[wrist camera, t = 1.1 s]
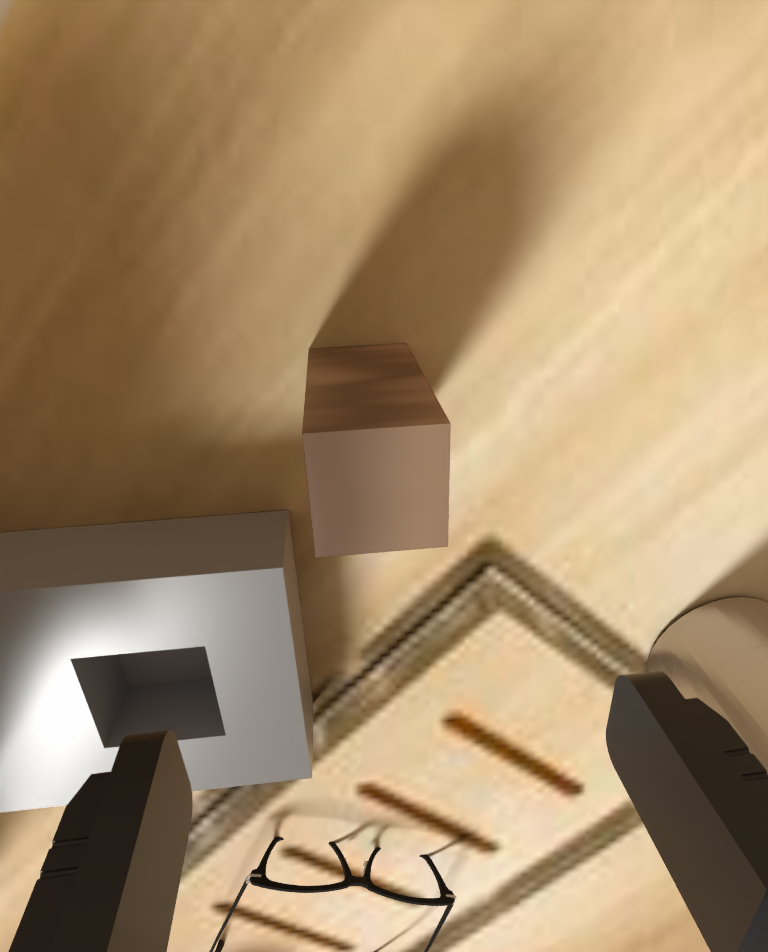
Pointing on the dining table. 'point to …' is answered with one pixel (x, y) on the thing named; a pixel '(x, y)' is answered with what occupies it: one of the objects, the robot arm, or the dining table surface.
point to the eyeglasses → (261, 880)
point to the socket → (151, 652)
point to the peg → (374, 452)
